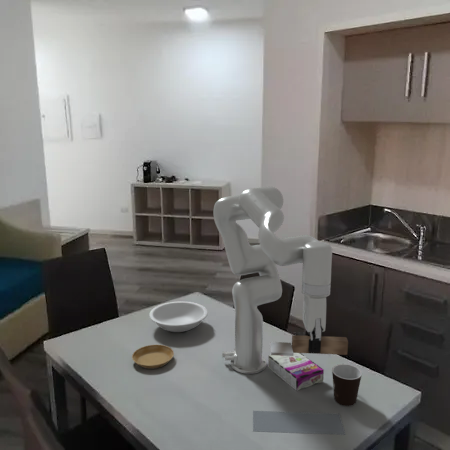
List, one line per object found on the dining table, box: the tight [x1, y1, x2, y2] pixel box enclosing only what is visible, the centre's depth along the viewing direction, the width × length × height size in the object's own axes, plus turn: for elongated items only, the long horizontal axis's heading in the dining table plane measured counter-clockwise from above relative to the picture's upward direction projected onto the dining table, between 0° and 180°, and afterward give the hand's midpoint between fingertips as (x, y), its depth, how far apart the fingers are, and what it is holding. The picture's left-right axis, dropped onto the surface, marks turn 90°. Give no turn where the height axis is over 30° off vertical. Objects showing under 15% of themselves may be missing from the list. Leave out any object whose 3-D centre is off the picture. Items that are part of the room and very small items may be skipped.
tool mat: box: [252, 410, 347, 436], centre depth 127 cm, size 25×9×1 cm, turn 87°
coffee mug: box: [331, 363, 363, 407], centre depth 138 cm, size 12×9×10 cm
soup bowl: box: [148, 300, 209, 333], centre depth 186 cm, size 24×24×7 cm
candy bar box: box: [267, 353, 325, 391], centre depth 151 cm, size 11×5×16 cm
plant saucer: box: [131, 344, 175, 370], centre depth 161 cm, size 15×15×3 cm
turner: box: [269, 334, 349, 356], centre depth 125 cm, size 21×6×4 cm, turn 89°
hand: (313, 349), depth 125 cm, fingers closed on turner, 2 cm apart
